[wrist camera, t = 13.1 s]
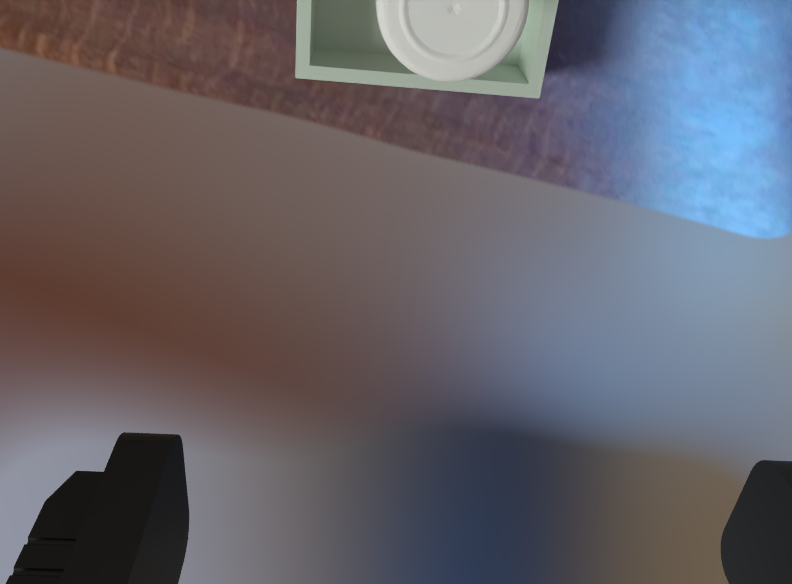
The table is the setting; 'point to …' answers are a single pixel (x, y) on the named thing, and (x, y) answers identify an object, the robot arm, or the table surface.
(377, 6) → the sprinkles bottle
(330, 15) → the tray
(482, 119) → the table surface
